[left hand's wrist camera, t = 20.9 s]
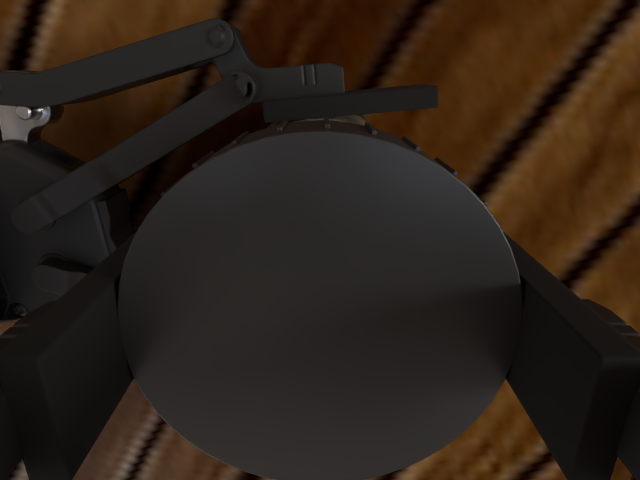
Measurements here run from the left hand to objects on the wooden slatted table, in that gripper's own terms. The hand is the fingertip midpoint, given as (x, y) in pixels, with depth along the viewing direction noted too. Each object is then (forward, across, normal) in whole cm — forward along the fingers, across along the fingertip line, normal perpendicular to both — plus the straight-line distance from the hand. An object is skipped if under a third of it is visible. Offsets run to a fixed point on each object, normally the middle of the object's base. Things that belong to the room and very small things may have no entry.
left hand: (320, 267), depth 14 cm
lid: (-3, 0, 0) cm, 3 cm away
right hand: (+6, -5, 0) cm, 8 cm away
